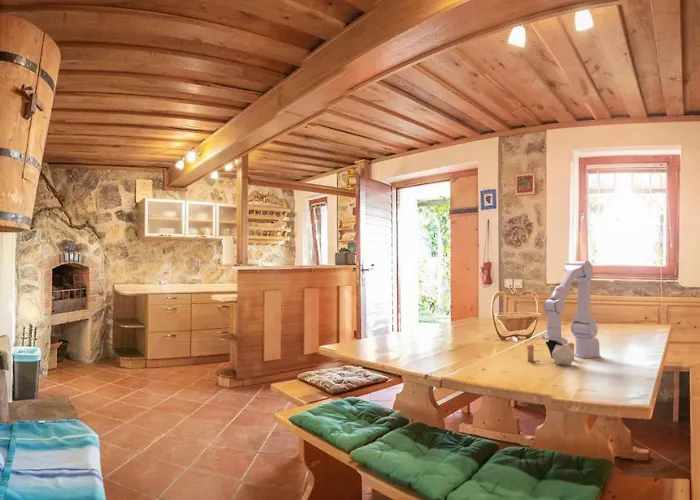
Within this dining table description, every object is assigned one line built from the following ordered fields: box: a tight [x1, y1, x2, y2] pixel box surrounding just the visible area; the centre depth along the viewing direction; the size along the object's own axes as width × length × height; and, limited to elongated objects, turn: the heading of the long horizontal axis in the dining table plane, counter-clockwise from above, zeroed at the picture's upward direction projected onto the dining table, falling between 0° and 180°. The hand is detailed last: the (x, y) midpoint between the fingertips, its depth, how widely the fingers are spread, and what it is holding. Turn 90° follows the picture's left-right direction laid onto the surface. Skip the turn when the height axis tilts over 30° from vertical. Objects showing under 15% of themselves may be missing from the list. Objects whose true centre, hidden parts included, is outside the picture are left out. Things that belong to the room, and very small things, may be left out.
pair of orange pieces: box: [526, 341, 575, 363], centre depth 187 cm, size 23×3×8 cm, turn 101°
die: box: [552, 345, 575, 367], centre depth 179 cm, size 8×9×10 cm
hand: (554, 358), depth 184 cm, fingers closed
